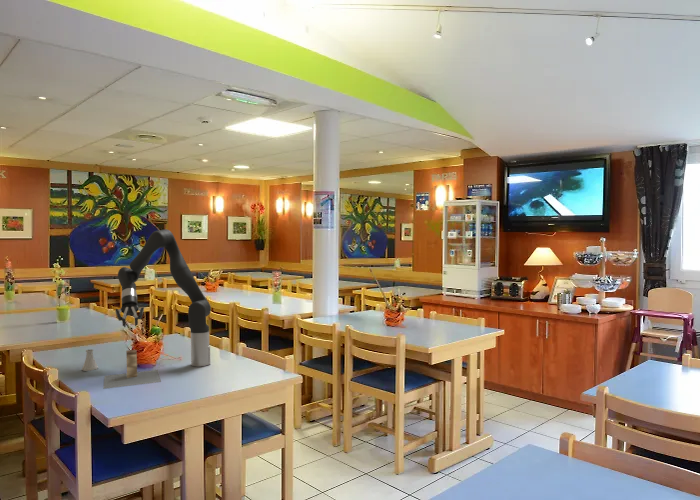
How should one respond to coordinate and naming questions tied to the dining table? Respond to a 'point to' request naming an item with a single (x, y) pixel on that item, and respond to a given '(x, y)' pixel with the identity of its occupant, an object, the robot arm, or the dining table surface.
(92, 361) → the flask
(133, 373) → the maple block
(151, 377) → the rubber mat
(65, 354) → the dining table surface
